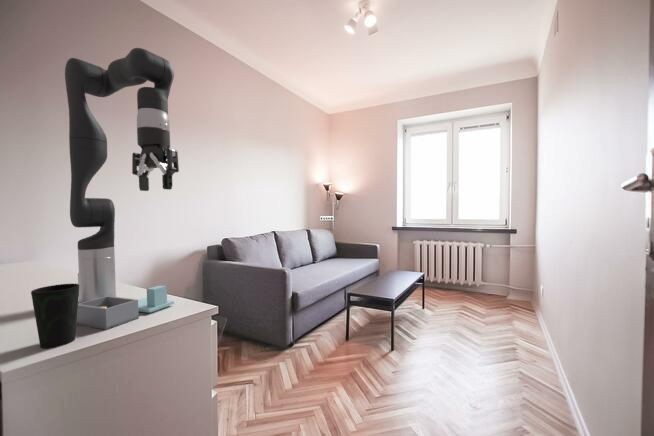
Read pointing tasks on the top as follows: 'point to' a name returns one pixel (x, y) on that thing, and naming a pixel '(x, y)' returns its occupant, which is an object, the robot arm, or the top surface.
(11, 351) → the top surface
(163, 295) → the lid
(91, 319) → the tub
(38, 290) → the cup
